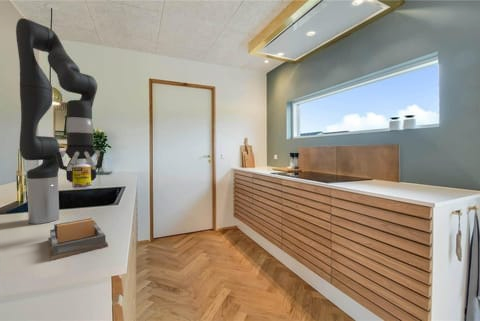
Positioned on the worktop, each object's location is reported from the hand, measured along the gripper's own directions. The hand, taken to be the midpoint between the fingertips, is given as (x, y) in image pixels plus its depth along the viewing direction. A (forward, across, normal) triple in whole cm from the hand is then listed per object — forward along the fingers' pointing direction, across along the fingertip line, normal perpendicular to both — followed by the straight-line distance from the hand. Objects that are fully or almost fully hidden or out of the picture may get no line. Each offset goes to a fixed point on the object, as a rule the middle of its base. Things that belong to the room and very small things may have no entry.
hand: (81, 180), depth 79 cm
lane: (+18, +3, +12) cm, 21 cm away
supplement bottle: (+3, 0, 0) cm, 3 cm away
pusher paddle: (+16, +3, +10) cm, 20 cm away
